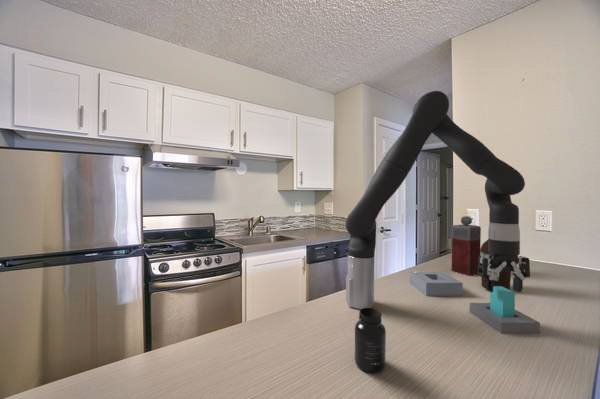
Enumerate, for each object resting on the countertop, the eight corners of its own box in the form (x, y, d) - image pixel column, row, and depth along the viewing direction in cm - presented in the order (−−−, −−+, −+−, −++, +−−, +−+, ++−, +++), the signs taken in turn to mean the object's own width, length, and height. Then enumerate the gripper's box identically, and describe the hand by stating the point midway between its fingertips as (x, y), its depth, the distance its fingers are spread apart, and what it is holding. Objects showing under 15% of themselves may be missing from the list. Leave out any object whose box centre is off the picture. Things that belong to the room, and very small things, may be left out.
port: (426, 295, 98) (426, 281, 98) (409, 283, 112) (410, 270, 112) (462, 295, 98) (462, 281, 98) (441, 283, 112) (441, 270, 112)
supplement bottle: (350, 355, 62) (351, 305, 62) (378, 353, 62) (378, 304, 62) (359, 375, 55) (360, 319, 55) (390, 373, 55) (391, 318, 55)
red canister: (482, 272, 127) (484, 216, 127) (469, 276, 122) (470, 217, 122) (464, 268, 135) (465, 215, 135) (451, 271, 130) (451, 215, 130)
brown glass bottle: (489, 282, 114) (490, 226, 113) (517, 290, 104) (519, 229, 103) (473, 285, 110) (475, 227, 109) (501, 294, 100) (502, 230, 99)
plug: (502, 325, 76) (503, 292, 76) (489, 317, 81) (490, 286, 81) (514, 325, 76) (515, 292, 76) (500, 317, 81) (501, 286, 81)
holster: (500, 333, 72) (501, 322, 72) (469, 311, 85) (469, 302, 85) (539, 333, 72) (539, 322, 72) (502, 311, 85) (502, 302, 85)
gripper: (489, 240, 74) (489, 296, 74) (538, 239, 74) (538, 295, 74) (471, 236, 81) (471, 287, 82) (516, 235, 82) (515, 286, 82)
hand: (503, 291), depth 78 cm, fingers open, 8 cm apart
